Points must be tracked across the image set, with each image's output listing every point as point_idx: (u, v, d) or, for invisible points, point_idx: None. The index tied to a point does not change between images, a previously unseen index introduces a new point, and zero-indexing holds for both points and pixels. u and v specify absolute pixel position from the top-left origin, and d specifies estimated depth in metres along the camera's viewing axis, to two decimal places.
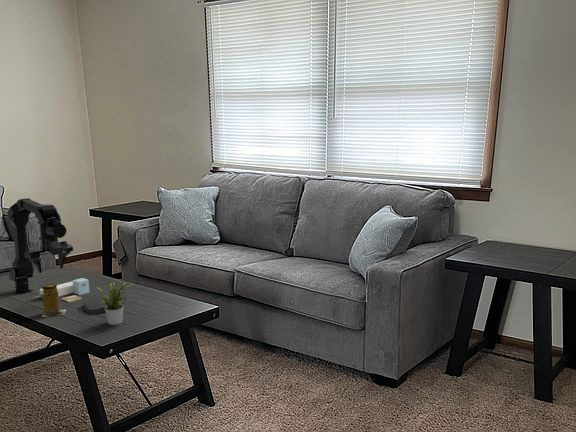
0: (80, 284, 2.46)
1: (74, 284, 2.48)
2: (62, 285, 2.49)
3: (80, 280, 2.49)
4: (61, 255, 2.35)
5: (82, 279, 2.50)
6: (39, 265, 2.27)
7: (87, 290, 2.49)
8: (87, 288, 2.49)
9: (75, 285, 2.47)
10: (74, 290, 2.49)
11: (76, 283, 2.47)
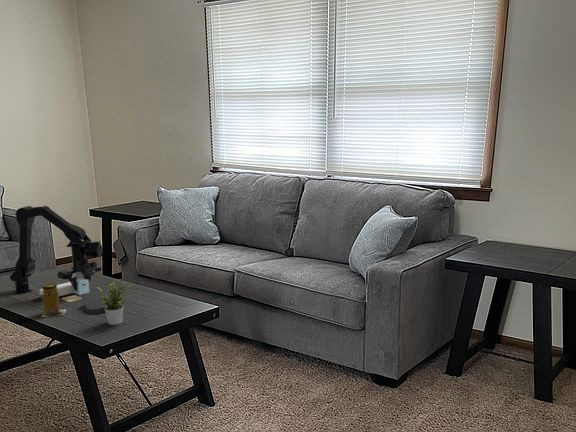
0: (80, 284, 2.46)
1: None
2: (62, 285, 2.49)
3: (80, 280, 2.49)
4: (86, 275, 2.51)
5: (82, 279, 2.50)
6: (75, 283, 2.46)
7: (87, 290, 2.49)
8: (87, 288, 2.49)
9: None
10: (74, 290, 2.49)
11: (76, 282, 2.47)
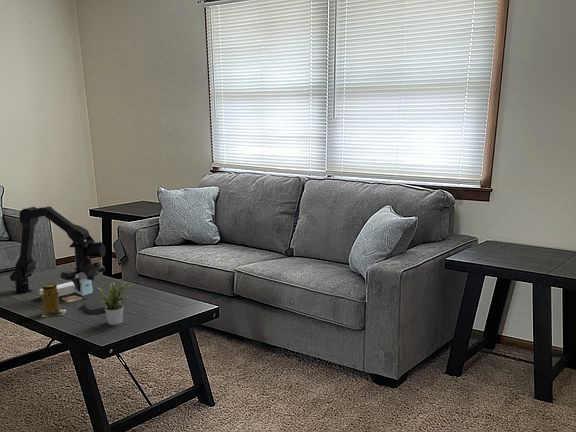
0: (83, 285, 2.45)
1: None
2: (62, 285, 2.49)
3: (83, 280, 2.47)
4: (90, 276, 2.49)
5: (85, 279, 2.48)
6: (78, 284, 2.44)
7: (90, 290, 2.48)
8: (90, 288, 2.48)
9: None
10: (77, 291, 2.47)
11: None
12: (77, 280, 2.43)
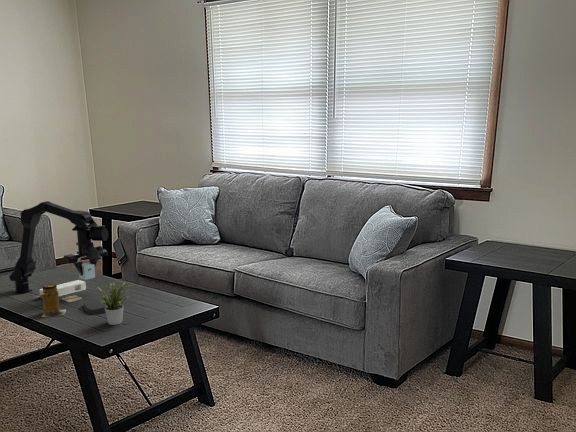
0: (85, 269, 2.41)
1: None
2: (62, 285, 2.49)
3: (86, 264, 2.44)
4: (92, 260, 2.46)
5: (88, 264, 2.45)
6: (80, 268, 2.41)
7: (93, 275, 2.45)
8: (93, 273, 2.45)
9: None
10: (80, 275, 2.44)
11: None
12: (79, 264, 2.39)
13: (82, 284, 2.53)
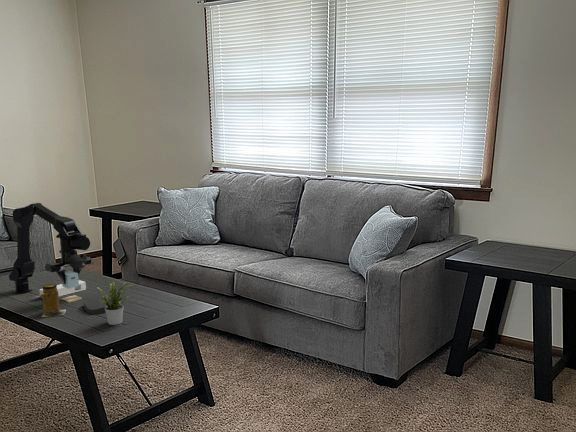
0: (68, 277, 2.36)
1: None
2: None
3: (69, 273, 2.38)
4: (76, 268, 2.40)
5: (71, 272, 2.39)
6: (63, 276, 2.35)
7: (76, 283, 2.39)
8: (76, 281, 2.39)
9: None
10: None
11: None
12: (62, 272, 2.33)
13: (82, 284, 2.53)
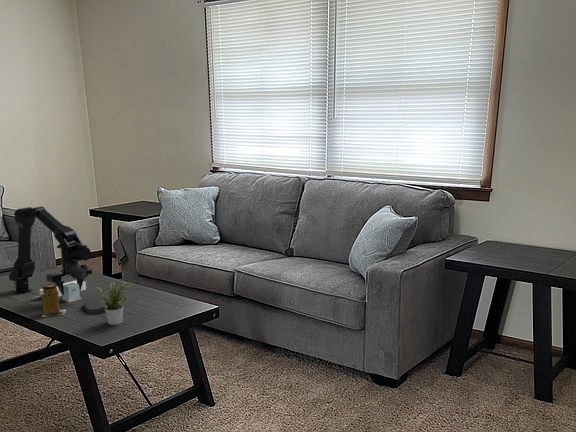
0: (69, 289, 2.36)
1: (64, 289, 2.38)
2: None
3: (70, 285, 2.39)
4: (79, 278, 2.42)
5: (72, 284, 2.40)
6: (62, 287, 2.35)
7: (77, 295, 2.40)
8: (77, 293, 2.40)
9: (65, 290, 2.38)
10: (64, 295, 2.39)
11: (65, 288, 2.37)
12: (61, 283, 2.33)
13: (82, 284, 2.53)
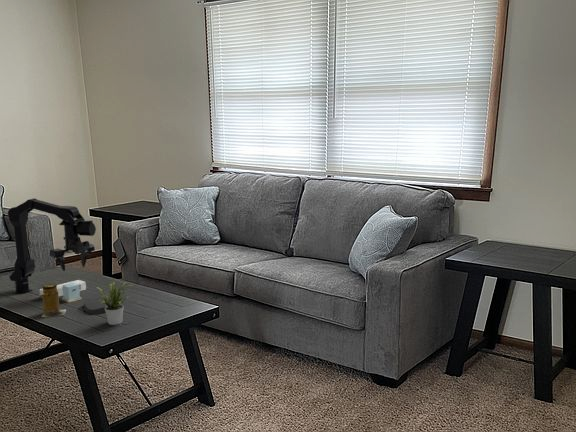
0: (69, 289, 2.36)
1: (64, 289, 2.38)
2: None
3: (70, 285, 2.39)
4: (83, 254, 2.49)
5: (72, 284, 2.40)
6: (63, 263, 2.41)
7: (77, 295, 2.40)
8: (77, 293, 2.40)
9: (65, 290, 2.38)
10: (64, 295, 2.39)
11: (65, 288, 2.37)
12: (62, 259, 2.39)
13: (82, 284, 2.53)
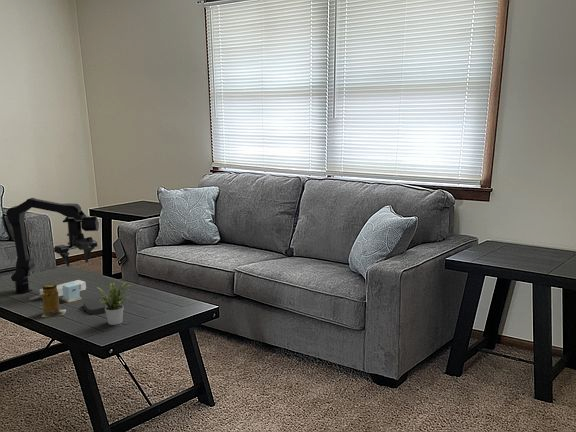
0: (69, 289, 2.36)
1: (64, 289, 2.38)
2: None
3: (70, 285, 2.39)
4: (86, 250, 2.55)
5: (72, 284, 2.40)
6: (67, 259, 2.47)
7: (77, 295, 2.40)
8: (77, 293, 2.40)
9: (65, 290, 2.38)
10: (64, 295, 2.39)
11: (65, 288, 2.37)
12: (66, 255, 2.46)
13: (82, 284, 2.53)
